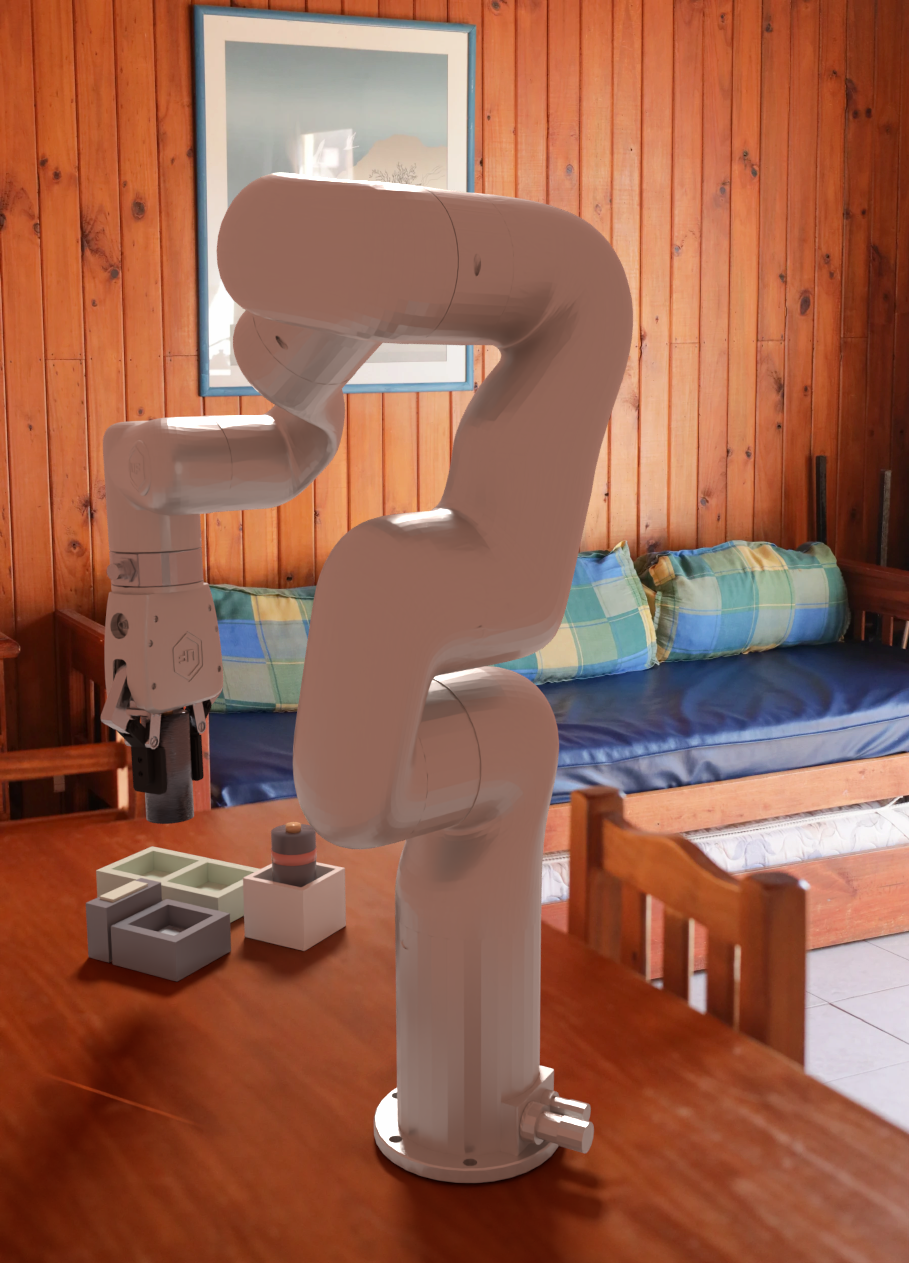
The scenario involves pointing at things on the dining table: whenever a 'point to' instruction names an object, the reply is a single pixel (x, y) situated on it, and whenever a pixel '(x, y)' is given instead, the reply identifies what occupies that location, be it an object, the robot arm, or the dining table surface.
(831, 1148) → the dining table surface
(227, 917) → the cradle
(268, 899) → the cup
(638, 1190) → the dining table surface
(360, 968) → the dining table surface
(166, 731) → the cell
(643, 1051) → the dining table surface
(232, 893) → the tray
